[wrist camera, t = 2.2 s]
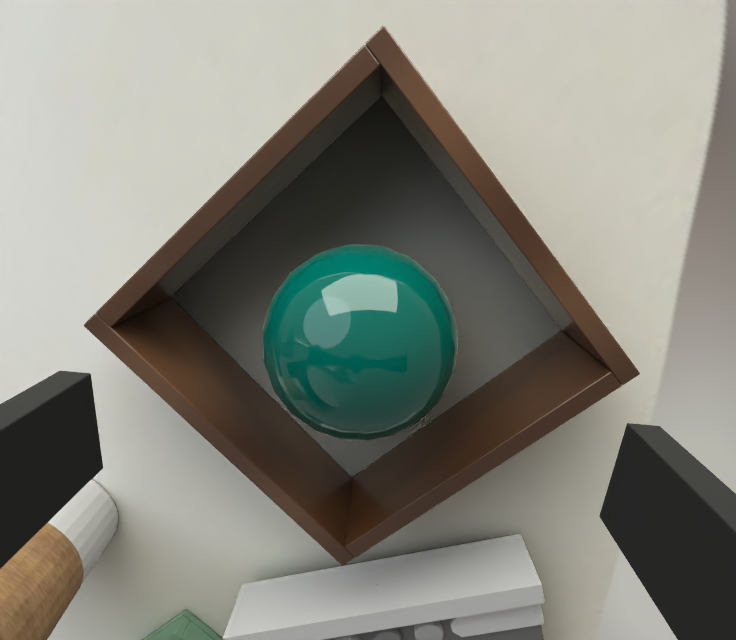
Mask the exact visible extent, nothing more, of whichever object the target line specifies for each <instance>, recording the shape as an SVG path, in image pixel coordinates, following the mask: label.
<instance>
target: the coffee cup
mask: <svg viewBox="0 0 736 640" xmlns="http://www.w3.org/2000/svg"><path fill="white" fill-rule="evenodd" d="M117 526H118V512H117V509H116V506H115V503H114V502H113V500H112V498H111V497H110V495H109V494H108V493H107V492H106V491H105V489H104V488H102V487H101V486H100V485H99V484H98V483H96V482H95V481H93V480H90V481H89V482H88V483H87V484H86V485H85V486H84V487H83V488H82V489H81V490H80V491H79V492H78V493H77V494H76V495H75V496H74V497H73V498H72V499H71V500H70V501H69V502H68V503H67V504H66V505H65V506H64V507H63V508H62V509H61V510H60V511H59V512H58V513H57V514H56V515H55V516H54V517H53V518H52V519H51V520H50V521H49V522H48V523H47V524H46V525H45V526H44V527H43V528H42V529H40V530H39V531H38V532H37V533H36V534H35V535H34V536H33V537H32V538H31V539H30V540H29V541H28V542H27V543H26V544H25V545H24V546H23V547H22V548H21V549H20V550H19V551H18V552H17V553H16V554H15V555H14V556H13V557H12V558H11V559H10V560H9V561H8V562H7V563H6V564H5V565H4V566H3V567H2V568H1V569H0V640H47V639H48V637H49V636H50V634H51V632H52V631H53V629H54V628H55V626H56V624H57V623H58V621H59V620H60V618H61V617H62V615H63V613H64V612H65V610H66V609H67V607H68V606H69V604H70V602H71V601H72V599H73V598H74V596H75V594H76V593H77V591H78V590H79V588H80V586H81V584H82V582H83V581H84V579H85V578H86V576H87V575H88V573H89V572H90V570H91V569H92V567H93V566H94V564H95V563H96V561H97V560H98V558H99V557H100V555H101V554H102V552H103V551H104V549H105V548H106V546H107V545H108V543H109V542H110V540H111V539H112V537H113V535H114V534H115V531H116V529H117Z"/></svg>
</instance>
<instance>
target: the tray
mask: <svg viewBox="0 0 736 640" xmlns="http://www.w3.org/2000/svg"><path fill="white" fill-rule="evenodd" d="M143 640H223V639H222V638H221V637H220V636H219V635H217V634H216V633H215V632H214V631H212V630H211V629H210V628H209V627H207V626H206V625H205V624H204V623H202V622H201V621H200V620H199V619H198V618H196V617H195V616H194V615H193V614H191V613H190V612H189V611H188V610H185V611H183V612H182V613H180V614H179V615H178V616H176V617H175V618H173V619H172V620H170V621H169V622H167V623H166V624H165V625H163V626H162V627H160V628H159V629H157V630H156V631H154V632H153V633H152V634H150V635H149V636H147V637H146V638H144V639H143Z"/></svg>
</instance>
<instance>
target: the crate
mask: <svg viewBox="0 0 736 640" xmlns="http://www.w3.org/2000/svg"><path fill="white" fill-rule="evenodd" d="M381 95H382V96H383V97H384V99H385V100H386V101H387V103H388V104H389V105H390V107H391V108H392V109H393V111H394V112H395V113H396V114H397V116H398V117H399V118H400V120H401V121H402V122H403V124H404V125H405V126H406V127H407V129H408V130H409V131H410V133H411V134H412V135H413V137H414V138H415V139H416V141H417V142H418V143H419V144H420V146H421V147H422V148H423V150H424V151H425V152H426V154H427V155H428V156H429V158H430V159H431V160H432V161H433V163H434V164H435V165H436V167H437V168H438V169H439V171H440V172H441V173H442V175H443V176H444V177H445V178H446V180H447V181H448V182H449V184H450V185H451V186H452V188H453V189H454V190H455V191H456V193H457V194H458V195H459V197H460V198H461V199H462V201H463V202H464V203H465V205H466V206H467V207H468V208H469V210H470V211H471V212H472V214H473V215H474V216H475V218H476V219H477V220H478V222H479V223H480V224H481V225H482V227H483V228H484V229H485V231H486V232H487V233H488V235H489V236H490V237H491V238H492V240H493V241H494V242H495V244H496V245H497V246H498V248H499V249H500V250H501V252H502V253H503V254H504V255H505V257H506V258H507V259H508V261H509V262H510V263H511V265H512V266H513V267H514V269H515V270H516V271H517V272H518V274H519V275H520V276H521V278H522V279H523V280H524V282H525V283H526V284H527V285H528V287H529V288H530V289H531V291H532V292H533V293H534V295H535V296H536V297H537V299H538V300H539V301H540V302H541V304H542V305H543V306H544V308H545V309H546V310H547V312H548V313H549V314H550V316H551V317H552V318H553V319H554V321H555V322H556V323H557V325H558V326H559V327H560V329H561V330H562V331H560V332H559V333H557V334H556V335H554V336H553V337H552V338H550V339H549V340H547V341H546V342H544V343H543V344H542V345H540V346H539V347H537V348H536V349H534V350H533V351H532V352H530V353H529V354H527V355H526V356H524V357H523V358H522V359H520V360H519V361H517V362H516V363H515V364H513V365H512V366H510V367H509V368H507V369H506V370H505V371H503V372H502V373H500V374H499V375H497V376H496V377H495V378H493V379H492V380H490V381H489V382H488V383H486V384H485V385H483V386H482V387H480V388H479V389H478V390H476V391H475V392H473V393H472V394H470V395H469V396H468V397H466V398H465V399H463V400H462V401H460V402H459V403H458V404H456V405H455V406H453V407H452V408H451V409H449V410H448V411H446V412H445V413H443V414H442V415H441V416H439V417H438V418H436V419H435V420H433V421H432V422H431V423H429V424H428V425H426V426H425V427H423V428H422V429H421V430H419V431H418V432H416V433H415V434H414V435H412V436H411V437H409V438H408V439H406V440H405V441H404V442H402V443H401V444H399V445H398V446H396V447H395V448H394V449H392V450H391V451H389V452H388V453H387V454H385V455H384V456H382V457H381V458H379V459H378V460H377V461H375V462H374V463H372V464H371V465H369V466H368V467H367V468H365V469H364V470H362V471H361V472H359V473H358V474H357V475H355V476H354V477H353V478H352V477H351V476H350V475H349V474H348V473H347V472H346V471H345V470H344V469H343V468H342V467H341V466H340V465H339V464H338V463H337V462H336V461H335V460H334V459H333V458H332V457H331V456H330V455H329V454H328V453H327V452H326V451H325V450H324V449H323V448H322V447H321V446H320V445H319V444H318V443H317V442H316V441H315V440H314V439H313V438H312V437H311V436H310V435H309V434H308V433H307V432H306V431H305V430H303V429H302V428H301V427H300V426H299V425H298V424H297V423H296V422H295V421H294V420H293V419H292V418H291V417H290V416H289V415H288V414H287V413H286V412H285V411H284V410H283V409H282V408H281V407H280V406H279V405H278V404H277V403H276V402H275V401H274V400H273V399H272V398H271V397H270V396H269V395H268V394H267V393H266V392H265V391H264V390H263V389H262V388H261V387H260V386H259V385H258V384H257V383H256V382H255V381H254V380H253V379H252V378H251V377H250V376H249V375H248V374H247V373H246V372H245V371H244V370H243V369H242V368H241V367H240V366H239V365H238V364H237V363H236V362H235V361H234V360H233V359H232V358H231V357H230V356H229V355H228V354H227V353H226V352H225V351H224V350H223V349H222V348H221V347H220V346H219V345H218V344H217V343H216V342H215V341H214V340H213V339H212V338H211V337H210V336H209V335H208V334H207V333H206V332H205V331H204V330H203V329H202V328H201V327H200V326H199V325H198V324H197V323H196V322H195V321H194V320H193V319H192V318H191V317H190V316H189V315H188V314H187V313H186V312H185V311H184V310H183V309H182V308H181V307H180V306H179V305H178V304H177V303H176V302H175V301H174V300H173V299H172V298H171V296H172V295H173V294H174V293H175V292H176V291H177V290H178V289H179V288H180V287H181V286H183V285H184V284H185V283H186V282H187V281H188V280H189V279H190V278H191V277H192V276H193V275H194V274H195V273H196V272H197V271H198V270H199V269H200V268H201V267H202V266H204V265H205V264H206V263H207V262H208V261H209V260H210V259H211V258H212V257H213V256H214V255H215V254H216V253H217V252H218V251H219V250H220V249H221V248H222V247H223V246H225V245H226V244H227V243H228V242H229V241H230V240H231V239H232V238H233V237H234V236H235V235H236V234H237V233H238V232H239V231H240V230H241V229H242V228H243V227H244V226H246V225H247V224H248V223H249V222H250V221H251V220H252V219H253V218H254V217H255V216H256V215H257V214H258V213H259V212H260V211H261V210H262V209H263V208H264V207H265V206H267V205H268V204H269V203H270V202H271V201H272V200H273V199H274V198H275V197H276V196H277V195H278V194H279V193H280V192H281V191H282V190H283V189H284V188H285V187H286V186H288V185H289V184H290V183H291V182H292V181H293V180H294V179H295V178H296V177H297V176H298V175H299V174H300V173H301V172H302V171H303V170H304V169H305V168H306V167H307V166H309V165H310V164H311V163H312V162H313V161H314V160H315V159H316V158H317V157H318V156H319V155H320V154H321V153H322V152H323V151H324V150H325V149H326V148H327V147H328V146H330V145H331V144H332V143H333V142H334V141H335V140H336V139H337V138H338V137H339V136H340V135H341V134H342V133H343V132H344V131H345V130H346V129H347V128H348V127H350V126H351V125H352V124H353V123H354V122H355V121H356V120H357V119H358V118H359V117H360V116H361V115H362V114H363V113H364V112H365V111H366V110H367V109H368V108H369V107H371V106H372V105H373V104H374V103H375V102H376V101H377V100H378V99H379V98H380V97H381ZM84 326H85V327H86V328H87V329H88V330H89V331H90V332H91V333H92V334H93V335H94V336H95V337H96V338H98V339H99V340H100V341H101V342H102V343H103V344H104V345H105V346H106V347H107V348H108V349H109V350H110V351H112V352H113V353H114V354H115V355H116V356H117V357H118V358H119V359H120V360H121V361H122V362H123V363H125V364H126V365H127V366H128V367H129V368H130V369H131V370H132V371H133V372H134V373H135V374H136V375H137V376H139V377H140V378H141V379H142V380H143V381H144V382H145V383H146V384H147V385H148V386H149V387H150V388H151V389H153V390H154V391H155V392H156V393H157V394H158V395H159V396H160V397H161V398H162V399H163V400H164V401H165V402H167V403H168V404H169V405H170V406H171V407H172V408H173V409H174V410H175V411H176V412H177V413H178V414H180V415H181V416H182V417H183V418H184V419H185V420H186V421H187V422H188V423H189V424H190V425H191V426H192V427H194V428H195V429H196V430H197V431H198V432H199V433H200V434H201V435H202V436H203V437H204V438H205V439H206V440H208V441H209V442H210V443H211V444H212V445H213V446H214V447H215V448H216V449H217V450H218V451H219V452H221V453H222V454H223V455H224V456H225V457H226V458H227V459H228V460H229V461H230V462H231V463H232V464H233V465H235V466H236V467H237V468H238V469H239V470H240V471H241V472H242V473H243V474H244V475H245V476H246V477H247V478H249V479H250V480H251V481H252V482H253V483H254V484H255V485H256V486H257V487H258V488H259V489H260V490H262V491H263V492H264V493H265V494H266V495H267V496H268V497H269V498H270V499H271V500H272V501H273V502H274V503H276V504H277V505H278V506H279V507H280V508H281V509H282V510H283V511H284V512H285V513H286V514H287V515H288V516H290V517H291V518H292V519H293V520H294V521H295V522H296V523H297V524H298V525H299V526H300V527H301V528H303V529H304V530H305V531H306V532H307V533H308V534H309V535H310V536H311V537H312V538H313V539H314V540H315V541H317V542H318V543H319V544H320V545H321V546H322V547H323V548H324V549H325V550H326V551H327V552H328V553H329V554H331V555H332V556H333V557H334V558H335V559H336V560H337V561H338V562H339V563H340V564H341V565H344V564H346V563H348V562H349V561H351V560H352V559H354V558H355V557H357V556H359V555H360V554H362V553H363V552H365V551H367V550H368V549H370V548H371V547H373V546H374V545H376V544H377V543H379V542H380V541H382V540H384V539H385V538H387V537H388V536H390V535H391V534H393V533H394V532H396V531H398V530H399V529H401V528H402V527H404V526H405V525H407V524H408V523H410V522H411V521H413V520H415V519H416V518H418V517H419V516H421V515H422V514H424V513H425V512H427V511H429V510H430V509H432V508H433V507H435V506H436V505H438V504H439V503H441V502H442V501H444V500H446V499H447V498H449V497H450V496H452V495H453V494H455V493H456V492H458V491H460V490H461V489H463V488H464V487H466V486H467V485H469V484H470V483H472V482H473V481H475V480H477V479H478V478H480V477H481V476H483V475H484V474H486V473H487V472H489V471H491V470H492V469H494V468H495V467H497V466H498V465H500V464H501V463H503V462H504V461H506V460H508V459H509V458H511V457H512V456H514V455H515V454H517V453H518V452H520V451H522V450H523V449H525V448H526V447H528V446H529V445H531V444H532V443H534V442H535V441H537V440H539V439H540V438H542V437H543V436H545V435H546V434H548V433H549V432H551V431H553V430H554V429H556V428H557V427H559V426H560V425H562V424H563V423H565V422H566V421H568V420H570V419H571V418H573V417H574V416H576V415H577V414H579V413H580V412H582V411H583V410H585V409H587V408H588V407H590V406H591V405H593V404H594V403H596V402H597V401H599V400H601V399H602V398H604V397H605V396H607V395H608V394H610V393H611V392H613V391H614V390H616V389H618V388H619V387H621V386H622V385H624V384H625V383H627V382H628V381H630V380H631V379H633V378H634V377H636V376H638V375H639V374H640V373H639V371H638V370H637V368H636V367H635V366H634V364H633V363H632V362H631V360H630V359H629V358H628V356H627V355H626V354H625V352H624V351H623V349H622V348H621V347H620V345H619V344H618V343H617V341H616V340H615V339H614V337H613V336H612V334H611V333H610V332H609V330H608V329H607V328H606V326H605V325H604V324H603V322H602V321H601V320H600V318H599V317H598V315H597V314H596V313H595V311H594V310H593V309H592V307H591V306H590V305H589V303H588V302H587V300H586V299H585V298H584V296H583V295H582V294H581V292H580V291H579V290H578V288H577V287H576V285H575V284H574V283H573V281H572V280H571V279H570V277H569V276H568V275H567V273H566V272H565V271H564V269H563V268H562V266H561V265H560V264H559V262H558V261H557V260H556V258H555V257H554V256H553V254H552V253H551V251H550V250H549V249H548V247H547V246H546V245H545V243H544V242H543V241H542V239H541V238H540V237H539V235H538V234H537V232H536V231H535V230H534V228H533V227H532V226H531V224H530V223H529V222H528V220H527V219H526V217H525V216H524V215H523V213H522V212H521V211H520V209H519V208H518V207H517V205H516V204H515V202H514V201H513V200H512V198H511V197H510V196H509V194H508V193H507V192H506V190H505V189H504V188H503V186H502V185H501V183H500V182H499V181H498V179H497V178H496V177H495V175H494V174H493V173H492V171H491V170H490V168H489V167H488V166H487V164H486V163H485V162H484V160H483V159H482V158H481V156H480V155H479V154H478V152H477V151H476V149H475V148H474V147H473V145H472V144H471V143H470V141H469V140H468V139H467V137H466V136H465V134H464V133H463V132H462V130H461V129H460V128H459V126H458V125H457V124H456V122H455V121H454V119H453V118H452V117H451V115H450V114H449V113H448V111H447V110H446V109H445V107H444V106H443V105H442V103H441V102H440V100H439V99H438V98H437V96H436V95H435V94H434V92H433V91H432V90H431V88H430V87H429V85H428V84H427V83H426V81H425V80H424V79H423V77H422V76H421V75H420V73H419V72H418V71H417V69H416V68H415V66H414V65H413V64H412V62H411V61H410V60H409V58H408V57H407V56H406V54H405V53H404V51H403V50H402V49H401V47H400V46H399V45H398V43H397V42H396V41H395V39H394V38H393V36H392V35H391V34H390V32H389V31H388V30H387V28H386V27H385V26H382V27H381V28H380V29H379V30H378V31H377V32H376V33H375V34H374V35H373V36H372V37H371V38H370V39H369V40H368V41H367V42H366V45H363V46H362V47H361V48H360V49H359V50H358V51H357V52H356V53H355V54H354V55H353V56H352V57H351V58H350V59H349V60H348V61H347V62H346V63H345V64H344V65H343V66H342V67H341V68H340V69H339V70H338V71H337V72H336V73H335V74H334V75H333V76H332V77H331V78H330V79H329V80H328V81H327V82H326V83H325V84H324V85H323V86H322V87H321V88H320V89H319V90H318V91H317V92H316V93H315V94H314V95H313V96H312V97H311V98H310V99H309V100H308V101H307V102H306V103H305V104H304V105H303V106H302V107H301V108H300V109H299V110H298V111H297V112H296V113H295V114H294V115H293V116H292V117H291V118H290V119H289V120H288V121H287V122H286V123H285V124H284V125H283V126H282V127H281V128H280V129H279V130H278V131H277V132H276V133H275V134H274V135H273V136H272V137H271V138H270V139H269V140H268V141H267V142H266V143H265V144H264V145H263V146H262V147H261V148H260V149H259V150H258V151H257V152H256V153H255V154H254V155H253V156H252V157H251V158H250V159H249V160H248V161H247V162H246V163H245V164H244V165H243V166H242V167H241V168H240V169H239V170H238V171H237V172H236V173H235V174H234V175H233V176H232V177H231V178H230V179H229V180H228V181H227V182H226V183H225V184H224V185H223V186H222V187H221V188H220V189H219V190H218V191H217V192H216V193H215V194H214V195H213V196H212V197H211V198H210V199H209V200H208V201H207V202H206V203H205V204H204V205H203V206H202V207H201V208H200V209H199V210H198V211H197V212H196V213H195V214H194V215H193V216H192V217H191V218H190V219H189V220H188V221H187V222H186V223H185V224H184V225H183V226H182V227H181V228H180V229H179V230H178V231H177V232H176V233H175V234H174V235H173V236H172V237H171V238H170V239H169V240H168V241H167V242H166V243H165V244H164V245H163V246H162V247H161V248H160V249H159V250H158V251H157V252H156V253H155V254H154V255H153V256H152V257H151V258H150V259H149V260H148V261H147V262H146V263H145V264H144V265H143V266H142V267H141V268H140V269H139V270H138V271H137V272H136V273H135V274H134V275H133V276H132V277H131V278H130V279H129V280H128V281H127V282H126V283H125V284H124V285H123V286H122V287H121V288H120V289H119V290H118V291H117V292H116V293H115V294H114V295H113V296H112V297H111V298H110V299H109V300H108V301H107V302H106V303H105V304H104V305H103V306H102V307H101V308H100V309H99V310H98V311H97V312H96V314H94V315H93V316H92V317H91V318H90V319H89V320H88V321H87V322H86V323H85V324H84ZM621 384H622V385H621Z"/></svg>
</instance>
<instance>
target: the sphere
mask: <svg viewBox="0 0 736 640" xmlns="http://www.w3.org/2000/svg"><path fill="white" fill-rule="evenodd" d="M262 338H263V361H264V364H265V367H266V369H267V372H268V375H269V377H270V380H271V383H272V386H273V388H274V391H275V392H276V394H277V395H278V396H279V398H280V399H281V400H282V401H283V403H284V404H285V405H286V406H287V408H288V409H289V410H290V412H291V413H292V414H294V415H295V416H297V417H298V418H299V419H301V420H302V421H304V422H305V423H306V424H308V425H309V426H311V427H312V428H314V429H315V430H317V431H320V432H323V433H326V434H328V435H331V436H334V437H337V438H340V439H352V440H371V439H376V438H381V437H385V436H390V435H394V434H396V433H398V432H400V431H402V430H404V429H406V428H407V427H409V426H411V425H413V424H415V423H417V422H419V421H420V420H421V419H422V418H423V417H424V416H425V415H426V414H427V413H428V412H429V411H430V410H431V409H432V408H433V407H434V406H435V405H436V404H437V402H438V401H439V400H440V399H441V398H442V396H443V394H444V392H445V390H446V388H447V386H448V384H449V381H450V379H451V377H452V375H453V373H454V371H455V366H456V357H457V349H458V341H459V336H458V331H457V327H456V322H455V318H454V313H453V309H452V305H451V302H450V301H449V299H448V298H447V296H446V294H445V293H444V291H443V289H442V288H441V286H440V285H439V283H438V281H437V280H436V278H435V277H434V276H433V275H432V274H430V273H429V272H428V271H427V270H425V269H424V268H423V267H422V266H421V265H419V264H418V263H417V262H416V261H415V260H413V259H412V258H411V257H410V256H407V255H405V254H402V253H400V252H397V251H394V250H392V249H389V248H387V247H384V246H382V245H367V244H347V245H343V246H340V247H336V248H332V249H329V250H325V251H321V252H319V253H317V254H316V255H314V256H313V257H311V258H310V259H308V260H307V261H305V262H304V263H302V264H301V265H299V266H298V267H296V268H295V269H293V270H292V271H291V273H290V274H289V275H288V277H287V278H286V279H285V281H284V282H283V283H282V285H281V286H280V287H279V289H278V290H277V291H276V292H275V294H274V295H273V297H272V299H271V302H270V305H269V309H268V312H267V315H266V318H265V321H264V324H263V330H262Z"/></svg>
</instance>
